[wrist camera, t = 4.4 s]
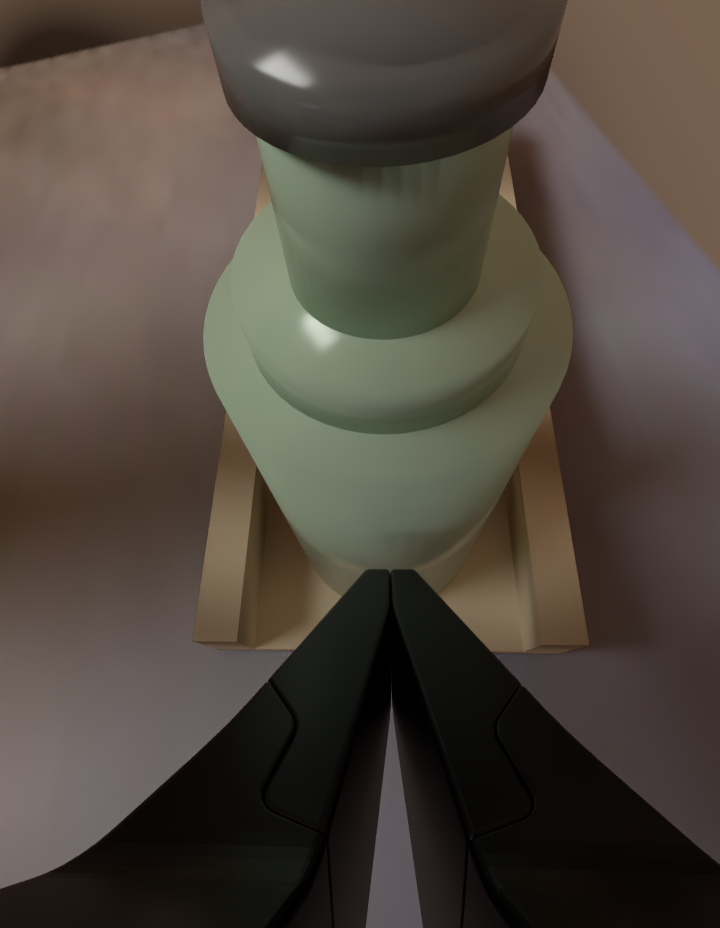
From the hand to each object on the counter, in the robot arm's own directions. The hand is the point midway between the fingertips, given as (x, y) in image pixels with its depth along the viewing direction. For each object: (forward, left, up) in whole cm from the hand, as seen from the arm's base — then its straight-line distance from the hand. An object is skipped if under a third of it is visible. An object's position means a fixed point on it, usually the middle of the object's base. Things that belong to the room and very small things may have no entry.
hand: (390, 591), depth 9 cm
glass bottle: (+1, +3, -7) cm, 8 cm away
